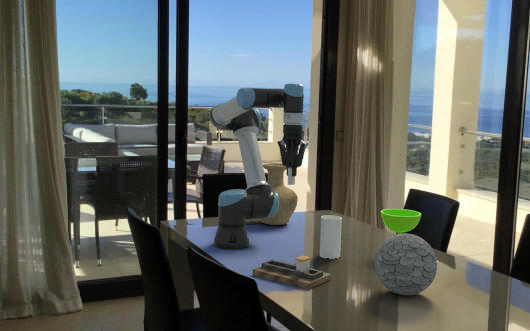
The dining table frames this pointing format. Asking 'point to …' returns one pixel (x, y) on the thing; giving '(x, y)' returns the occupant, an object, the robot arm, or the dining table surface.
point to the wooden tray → (291, 274)
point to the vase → (280, 195)
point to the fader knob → (303, 264)
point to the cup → (330, 236)
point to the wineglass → (400, 219)
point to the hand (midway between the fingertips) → (291, 184)
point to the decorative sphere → (406, 264)
